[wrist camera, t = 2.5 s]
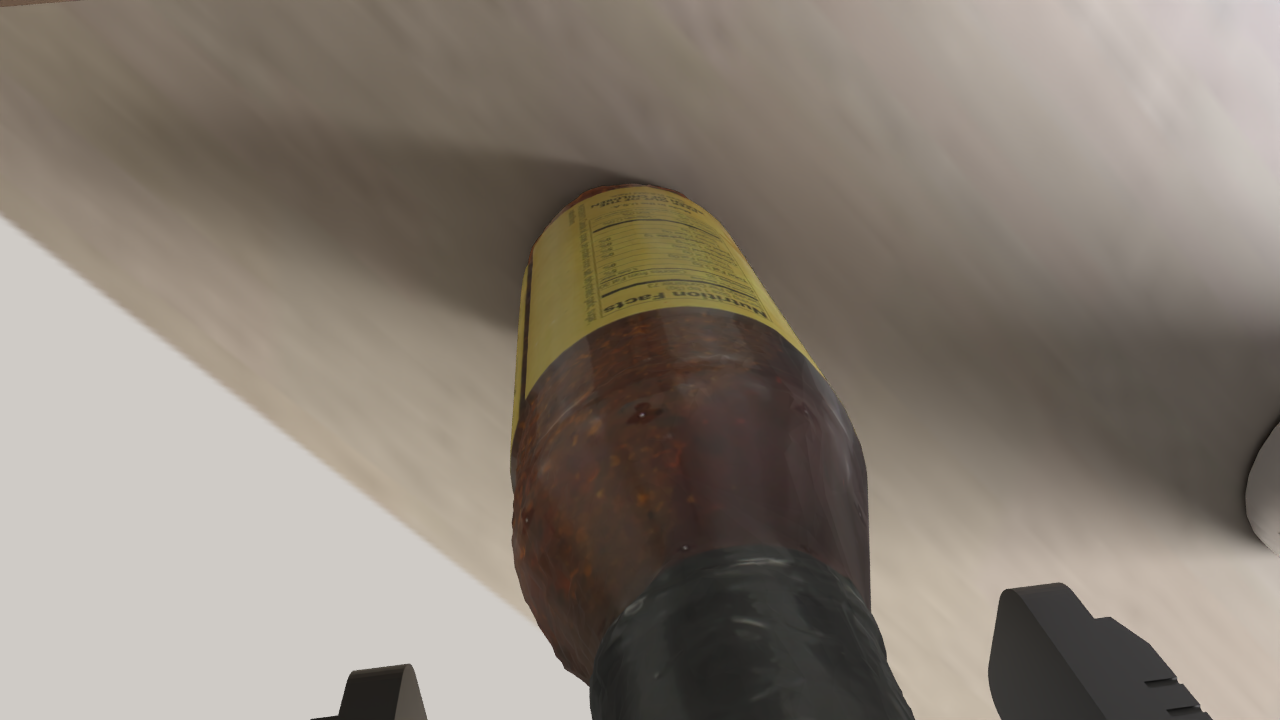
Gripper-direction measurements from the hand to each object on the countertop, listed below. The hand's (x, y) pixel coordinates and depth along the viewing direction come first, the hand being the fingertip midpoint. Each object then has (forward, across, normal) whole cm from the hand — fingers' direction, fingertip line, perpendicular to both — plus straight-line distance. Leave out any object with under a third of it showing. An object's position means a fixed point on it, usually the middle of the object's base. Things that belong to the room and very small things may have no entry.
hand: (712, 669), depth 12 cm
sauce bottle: (+15, 0, 0) cm, 16 cm away
